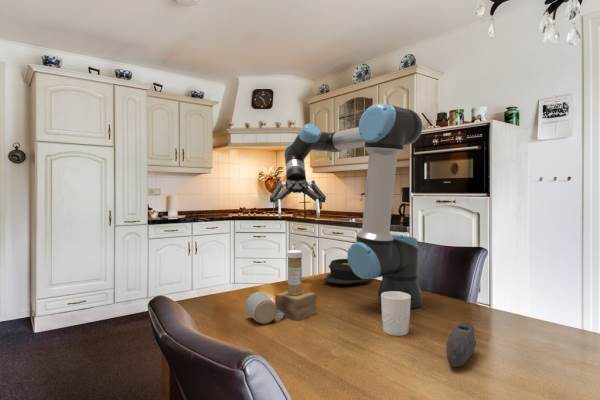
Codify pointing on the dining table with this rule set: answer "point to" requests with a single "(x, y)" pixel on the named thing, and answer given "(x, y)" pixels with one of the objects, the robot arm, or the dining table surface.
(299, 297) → the tan block
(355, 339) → the dining table surface
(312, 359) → the dining table surface
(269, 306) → the ceramic mug
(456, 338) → the perforated stone tool
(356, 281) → the black fedora hat
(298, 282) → the sprinkles bottle
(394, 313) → the white cup
